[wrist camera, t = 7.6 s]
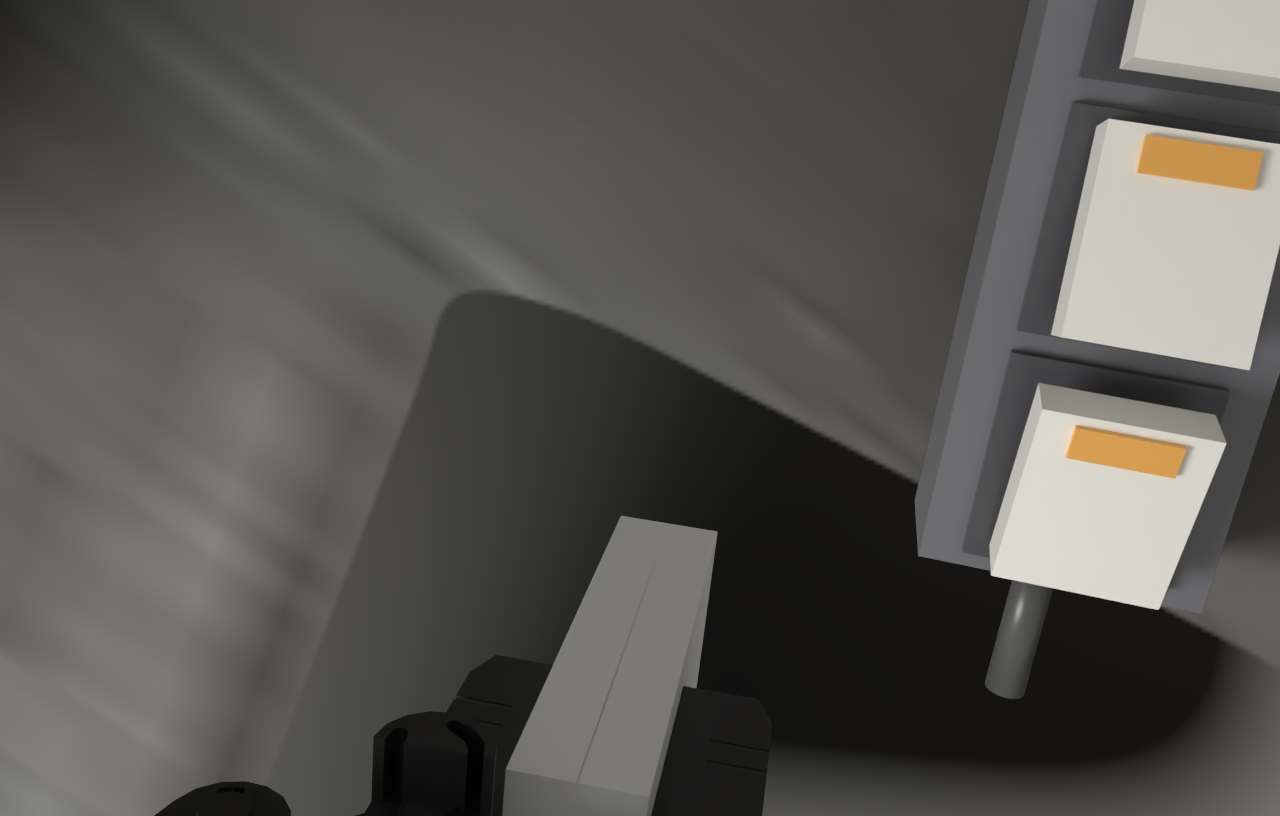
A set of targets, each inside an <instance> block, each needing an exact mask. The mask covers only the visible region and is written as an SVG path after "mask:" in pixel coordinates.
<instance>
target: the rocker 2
mask: <svg viewBox="0 0 1280 816" xmlns="http://www.w3.org/2000/svg"><path fill="white" fill-rule="evenodd" d="M1279 246H1280V144H1274V143H1268V142H1261V141H1255V140H1248V139H1241V138H1235V137H1228V136H1221V135H1215V134H1208V133H1201V132H1195V131H1188V130H1181V129H1175V128H1168V127H1161V126H1155V125H1148V124H1142V123H1135V122H1128V121H1122V120H1115V119H1107V120H1106V121H1104V122H1103V123H1101V124H1099V125H1098V126H1096V130H1095V134H1094V139H1093V144H1092V148H1091V153H1090V157H1089V162H1088V167H1087V171H1086V176H1085V180H1084V185H1083V190H1082V194H1081V199H1080V203H1079V208H1078V212H1077V217H1076V222H1075V226H1074V231H1073V235H1072V240H1071V245H1070V249H1069V254H1068V258H1067V263H1066V267H1065V272H1064V277H1063V281H1062V286H1061V290H1060V295H1059V300H1058V304H1057V309H1056V313H1055V318H1054V322H1053V327H1052V332H1051V335H1053V336H1058V337H1062V338H1068V339H1074V340H1079V341H1085V342H1091V343H1096V344H1102V345H1108V346H1113V347H1119V348H1125V349H1130V350H1136V351H1142V352H1148V353H1153V354H1159V355H1165V356H1170V357H1176V358H1182V359H1187V360H1193V361H1199V362H1204V363H1210V364H1216V365H1221V366H1227V367H1233V368H1238V369H1244V370H1250V367H1251V363H1252V358H1253V354H1254V350H1255V346H1256V342H1257V338H1258V333H1259V329H1260V325H1261V321H1262V317H1263V313H1264V308H1265V304H1266V300H1267V296H1268V292H1269V288H1270V284H1271V279H1272V275H1273V271H1274V267H1275V263H1276V259H1277V254H1278V250H1279Z"/></svg>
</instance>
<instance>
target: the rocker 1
mask: <svg viewBox="0 0 1280 816" xmlns="http://www.w3.org/2000/svg"><path fill="white" fill-rule="evenodd" d="M1119 69H1125V70H1132V71H1139V72H1146V73H1153V74H1160V75H1167V76H1173V77H1180V78H1187V79H1194V80H1201V81H1208V82H1215V83H1222V84H1229V85H1236V86H1243V87H1250V88H1256V89H1263V90H1270V91H1277V92H1280V0H1134V4H1133V9H1132V13H1131V18H1130V22H1129V27H1128V31H1127V36H1126V41H1125V45H1124V50H1123V54H1122V59H1121V64H1120V68H1119Z"/></svg>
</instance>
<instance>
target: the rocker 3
mask: <svg viewBox="0 0 1280 816" xmlns="http://www.w3.org/2000/svg"><path fill="white" fill-rule="evenodd" d="M1226 444H1227V443H1226V440H1225V438H1224V435H1223V432H1222V430H1221V427H1220V425H1219V422H1218V420H1217V417H1216V415H1213V414H1208V413H1202V412H1197V411H1191V410H1186V409H1180V408H1175V407H1169V406H1164V405H1158V404H1153V403H1147V402H1142V401H1136V400H1131V399H1125V398H1120V397H1114V396H1109V395H1103V394H1098V393H1092V392H1087V391H1081V390H1076V389H1070V388H1065V387H1059V386H1054V385H1048V384H1043V383H1038V386H1037V390H1036V393H1035V396H1034V400H1033V403H1032V406H1031V409H1030V413H1029V416H1028V419H1027V423H1026V426H1025V429H1024V433H1023V436H1022V439H1021V442H1020V446H1019V449H1018V452H1017V456H1016V459H1015V462H1014V466H1013V469H1012V472H1011V475H1010V479H1009V482H1008V485H1007V489H1006V492H1005V495H1004V499H1003V502H1002V505H1001V508H1000V512H999V515H998V518H997V522H996V525H995V528H994V532H993V535H992V538H991V541H990V545H989V548H990V567H991V576H996V577H1001V578H1005V579H1010V580H1015V581H1020V582H1025V583H1030V584H1034V585H1039V586H1044V587H1049V588H1054V589H1059V590H1064V591H1069V592H1074V593H1078V594H1084V595H1088V596H1093V597H1098V598H1103V599H1108V600H1112V601H1117V602H1122V603H1127V604H1132V605H1137V606H1142V607H1146V608H1151V609H1156V610H1159V608H1160V606H1161V603H1162V601H1163V598H1164V596H1165V593H1166V591H1167V588H1168V586H1169V584H1170V581H1171V579H1172V576H1173V574H1174V571H1175V569H1176V566H1177V564H1178V561H1179V559H1180V557H1181V554H1182V552H1183V549H1184V547H1185V544H1186V542H1187V539H1188V537H1189V535H1190V532H1191V530H1192V527H1193V525H1194V522H1195V520H1196V517H1197V515H1198V512H1199V510H1200V508H1201V505H1202V503H1203V500H1204V498H1205V495H1206V493H1207V490H1208V488H1209V485H1210V483H1211V481H1212V478H1213V476H1214V473H1215V471H1216V468H1217V466H1218V463H1219V461H1220V459H1221V456H1222V454H1223V451H1224V449H1225V446H1226Z"/></svg>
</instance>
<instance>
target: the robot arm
mask: <svg viewBox="0 0 1280 816" xmlns="http://www.w3.org/2000/svg"><path fill="white" fill-rule="evenodd" d="M716 538H717V532H716V531H710V530H704V529H698V528H692V527H685V526H680V525H673V524H667V523H661V522H655V521H649V520H643V519H636V518H631V517H625V516H621V517H620V519H619V522H618V524H617V526H616V528H615V530H614V533H613V535H612V537H611V539H610V541H609V544H608V546H607V548H606V550H605V552H604V555H603V557H602V559H601V561H600V563H599V566H598V568H597V570H596V572H595V574H594V577H593V579H592V581H591V583H590V585H589V588H588V590H587V592H586V594H585V596H584V598H583V601H582V603H581V605H580V607H579V609H578V612H577V614H576V616H575V618H574V620H573V623H572V625H571V627H570V629H569V632H568V634H567V636H566V638H565V640H564V642H563V645H562V647H561V649H560V651H559V653H558V655H557V658H556V660H555V662H554V664H553V665H549V664H543V663H538V662H532V661H527V660H521V659H516V658H510V657H505V656H499V655H495V656H494V657H492V658H491V659H489V660H488V661H486V662H485V663H483V664H481V665H480V666H478V667H477V668H475V669H474V670H472V671H471V672H469V674H468V676H467V677H466V679H465V681H464V683H463V685H462V686H461V688H460V690H459V691H458V693H457V695H456V699H455V700H453V702H452V704H451V705H450V707H449V709H448V710H447V712H446V713H444V712H431V711H430V712H423V713H417V714H411V715H406V716H404V717H402V718H399V719H397V720H395V721H392V722H390V723H388V724H386V725H385V726H384V727H383V728H382V729H381V730H380V731H379V732H378V733H377V734H376V735H375V736H374V743H373V744H374V745H373V774H372V801H371V803H370V805H369V806H368V808H367V810H366V812H365V813H363V814H360V815H356V816H762V811H763V801H764V793H765V784H766V774H767V766H768V756H769V747H770V738H771V730H772V729H771V728H772V724H771V722H770V720H769V718H768V716H767V714H766V712H765V711H764V709H763V707H762V705H761V703H760V701H759V700H758V699H752V698H747V697H742V696H736V695H729V694H725V693H719V692H714V691H708V690H703V689H697V688H696V686H697V679H698V678H697V677H698V671H699V663H700V656H701V649H702V642H703V634H704V627H705V620H706V612H707V604H708V597H709V590H710V583H711V575H712V568H713V560H714V552H715V545H716ZM155 816H291V810H290V808H289V807H288V805H287V803H286V801H285V799H284V797H283V796H281V795H280V794H278V793H277V792H275V791H273V790H272V789H270V788H269V787H267V786H263V785H258V784H254V783H250V782H220V783H216V784H212V785H208V786H204V787H201V788H197V789H195V790H193V791H191V792H189V793H187V794H185V795H184V796H182V797H180V798H178V799H176V800H175V801H173V802H172V803H171V804H169V805H168V806H167V807H165V808H164V809H163V810H161V811H160V812H159V813H158V814H156V815H155Z"/></svg>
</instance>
